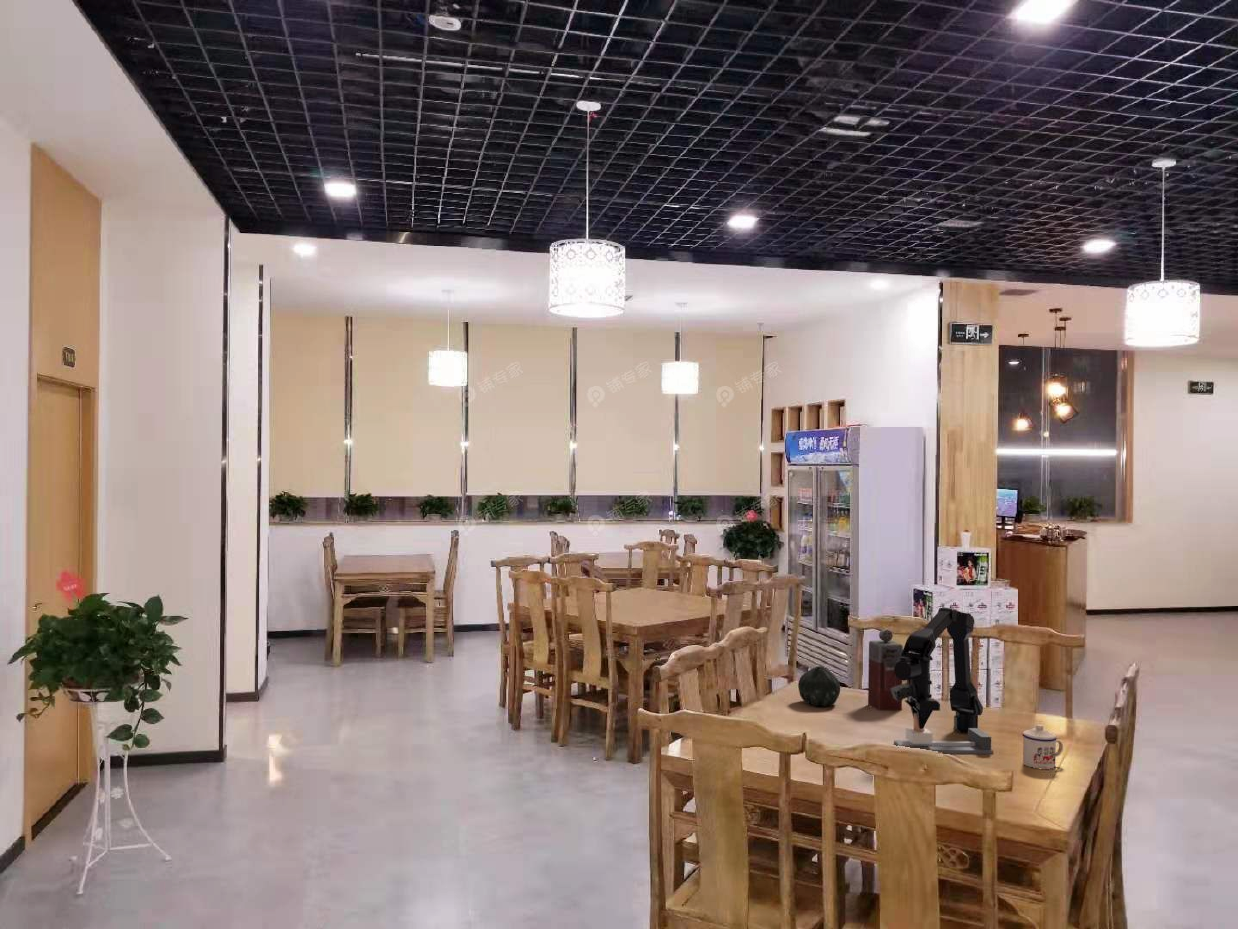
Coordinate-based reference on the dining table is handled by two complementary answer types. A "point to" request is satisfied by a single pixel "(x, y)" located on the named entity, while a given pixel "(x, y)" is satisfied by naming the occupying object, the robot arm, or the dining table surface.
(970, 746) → the track
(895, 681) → the square decanter bottle
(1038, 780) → the dining table surface
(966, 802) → the dining table surface
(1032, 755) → the teacup with lid
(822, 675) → the squash
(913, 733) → the keeper
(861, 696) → the dining table surface
